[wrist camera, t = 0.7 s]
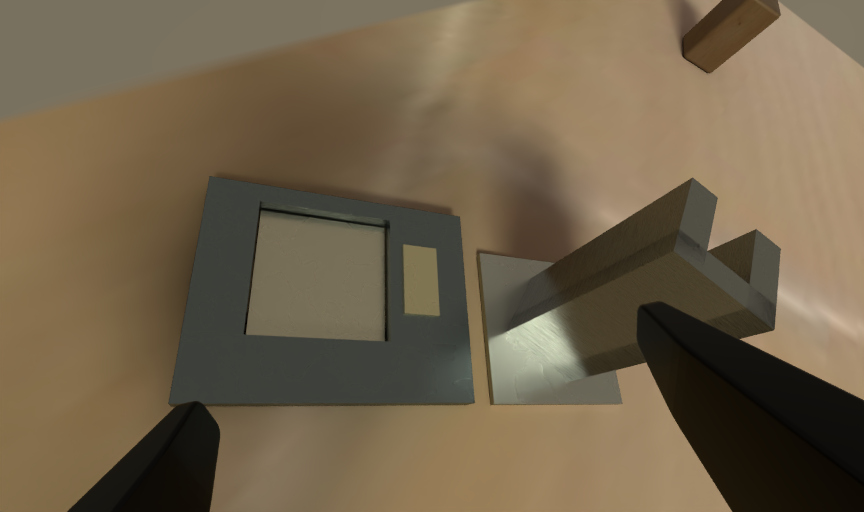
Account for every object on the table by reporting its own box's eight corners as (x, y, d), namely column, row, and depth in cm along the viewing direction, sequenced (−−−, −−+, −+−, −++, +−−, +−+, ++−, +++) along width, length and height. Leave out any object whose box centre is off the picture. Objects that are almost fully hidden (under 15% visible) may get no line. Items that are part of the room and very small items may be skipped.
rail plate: (466, 405, 24) (476, 402, 23) (170, 406, 19) (168, 403, 18) (453, 224, 29) (461, 215, 28) (210, 186, 24) (209, 174, 23)
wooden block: (681, 58, 50) (752, -6, 43) (681, 36, 52) (749, -28, 45) (709, 76, 51) (783, 16, 44) (708, 54, 53) (778, -6, 46)
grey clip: (571, 381, 27) (774, 330, 17) (505, 332, 27) (673, 251, 17) (591, 323, 29) (780, 248, 19) (531, 278, 29) (692, 177, 19)
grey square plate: (617, 404, 28) (622, 403, 28) (490, 404, 25) (494, 404, 25) (590, 270, 32) (594, 268, 32) (476, 255, 29) (479, 252, 28)
